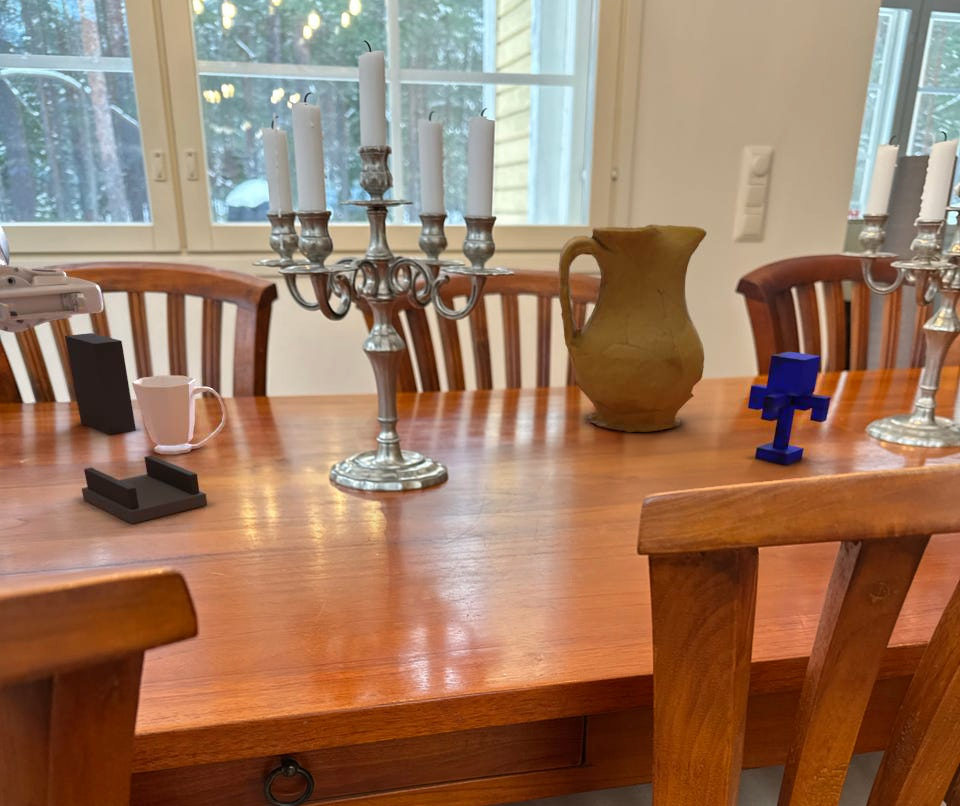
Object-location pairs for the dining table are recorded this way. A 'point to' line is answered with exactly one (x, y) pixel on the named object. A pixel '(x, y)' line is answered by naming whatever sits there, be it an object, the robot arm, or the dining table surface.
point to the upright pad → (101, 382)
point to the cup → (171, 411)
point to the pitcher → (635, 326)
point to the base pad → (145, 491)
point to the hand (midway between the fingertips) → (48, 308)
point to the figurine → (787, 402)
